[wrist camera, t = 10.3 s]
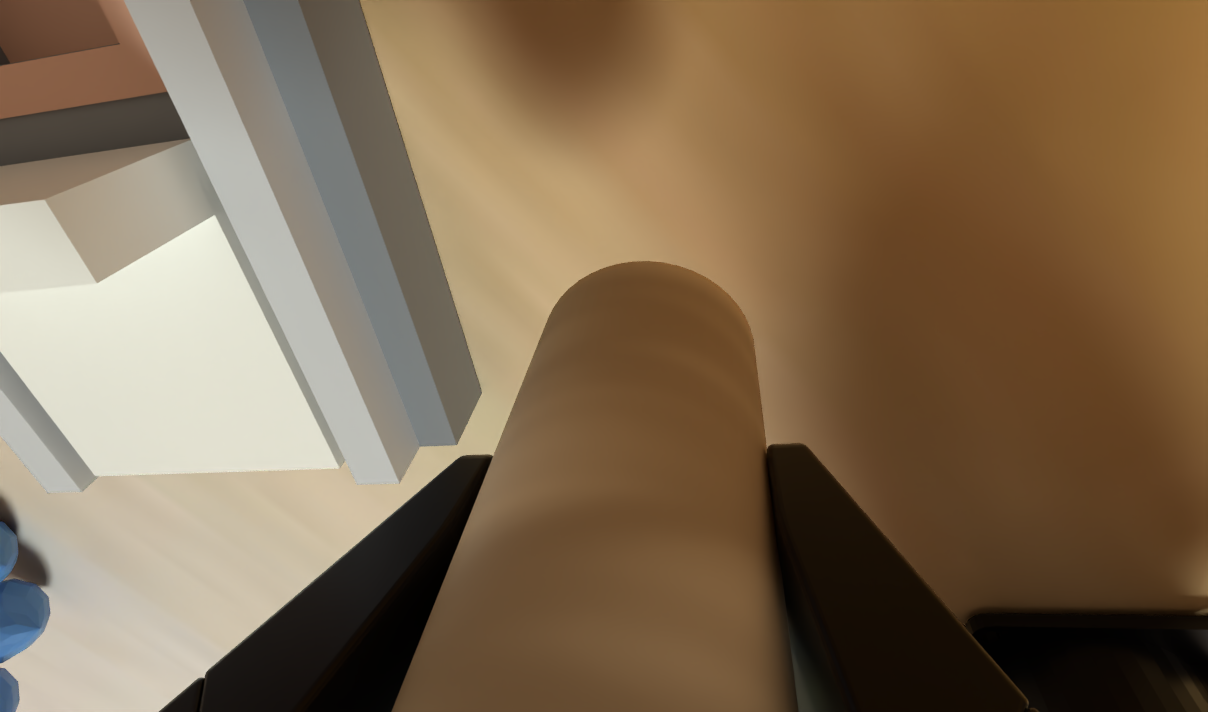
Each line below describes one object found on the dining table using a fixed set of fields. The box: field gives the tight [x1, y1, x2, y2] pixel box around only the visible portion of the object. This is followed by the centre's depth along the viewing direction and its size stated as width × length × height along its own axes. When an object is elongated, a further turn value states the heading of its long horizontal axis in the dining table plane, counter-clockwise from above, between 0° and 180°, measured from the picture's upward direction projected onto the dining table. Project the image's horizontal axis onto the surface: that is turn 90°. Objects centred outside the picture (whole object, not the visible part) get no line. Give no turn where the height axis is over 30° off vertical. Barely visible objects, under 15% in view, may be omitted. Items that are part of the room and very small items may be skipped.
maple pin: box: [392, 261, 799, 712], centre depth 6 cm, size 3×3×9 cm
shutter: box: [0, 139, 345, 476], centre depth 12 cm, size 6×7×3 cm
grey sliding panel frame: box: [0, 0, 482, 493], centre depth 12 cm, size 11×16×3 cm
